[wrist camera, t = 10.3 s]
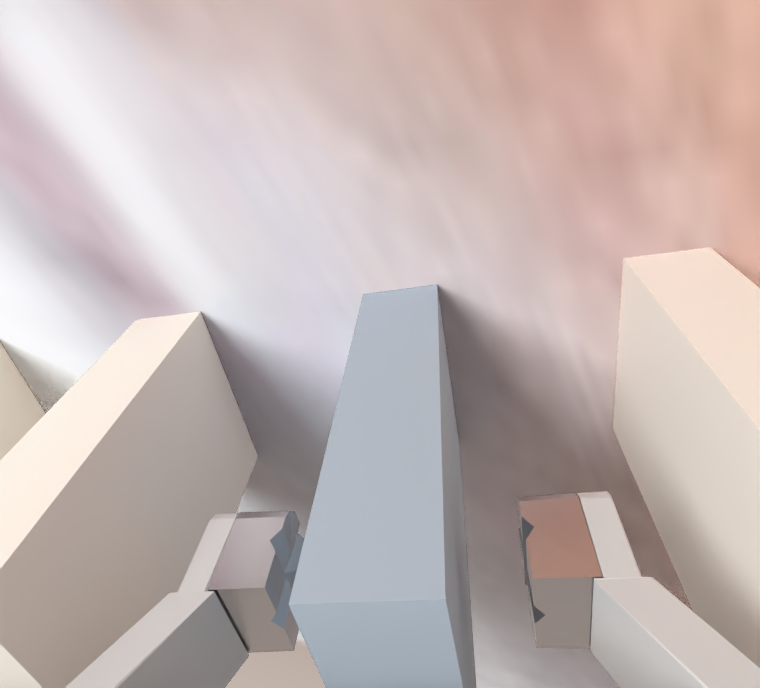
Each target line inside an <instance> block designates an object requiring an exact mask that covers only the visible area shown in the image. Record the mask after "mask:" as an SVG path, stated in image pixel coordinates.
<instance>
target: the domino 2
mask: <svg viewBox="0 0 760 688" xmlns="http://www.w3.org/2000/svg"><path fill="white" fill-rule="evenodd" d="M257 458H258V455H257V452H256V450H255V447H254V445H253V442H252V439H251V437H250V434H249V432H248V429H247V427H246V424H245V422H244V419H243V417H242V414H241V412H240V409H239V407H238V404H237V402H236V399H235V397H234V394H233V392H232V389H231V387H230V384H229V382H228V379H227V377H226V374H225V372H224V369H223V367H222V364H221V362H220V359H219V357H218V354H217V351H216V349H215V346H214V344H213V341H212V339H211V336H210V334H209V331H208V329H207V326H206V324H205V321H204V319H203V316H202V314H201V312H194V313H186V314H178V315H170V316H162V317H154V318H146V319H138V320H136V321H135V322H134V323H133V324H132V325H131V326H130V327H129V328H128V329H127V330H126V331H125V332H124V333H123V334H122V335H121V336H120V337H119V338H118V339H117V341H116V342H115V343H114V344H113V345H112V346H111V347H110V348H109V349H108V350H107V351H106V352H105V353H104V354H103V355H102V356H101V357H100V358H99V359H98V360H97V361H96V362H95V363H94V364H93V365H92V366H91V367H90V368H89V369H88V370H87V372H86V373H85V374H84V375H83V376H82V377H81V378H80V379H79V380H78V381H77V382H76V383H75V384H74V385H73V386H72V387H71V388H70V389H69V390H68V391H67V392H66V393H65V394H64V395H63V396H62V397H61V398H60V399H59V400H58V401H57V403H56V404H55V405H54V406H53V407H52V408H51V409H50V410H49V411H48V412H47V413H46V414H45V415H44V416H43V417H42V418H41V419H40V420H39V421H38V422H37V423H36V424H35V425H34V426H33V427H32V428H31V429H30V430H29V431H28V433H27V434H26V435H25V436H24V437H23V438H22V439H21V440H20V441H19V442H18V443H17V444H16V445H15V446H14V447H13V448H12V449H11V450H10V451H9V452H8V453H7V454H6V455H5V456H4V457H3V458H2V459H1V460H0V688H65V687H66V686H67V685H68V684H69V683H70V682H72V681H73V680H74V679H75V678H76V677H77V676H78V675H79V674H80V673H81V672H83V671H84V670H85V669H86V668H87V667H88V666H89V665H90V664H91V663H93V662H94V661H95V660H96V659H97V658H98V657H99V656H100V655H101V654H103V653H104V652H105V651H106V650H107V649H108V648H109V647H110V646H111V645H113V644H114V643H115V642H116V641H117V640H118V639H119V638H120V637H121V636H122V635H124V634H125V633H126V632H127V631H128V630H129V629H130V628H131V627H132V626H134V625H135V624H136V623H137V622H138V621H139V620H140V619H141V618H142V617H144V616H145V615H146V614H147V613H148V612H149V611H150V610H151V609H152V608H154V607H155V606H156V605H157V604H158V603H159V602H160V601H161V600H162V599H164V598H165V597H166V596H167V595H168V594H169V593H171V592H178V590H179V588H180V586H181V583H182V581H183V579H184V577H185V574H186V572H187V570H188V568H189V565H190V563H191V561H192V559H193V556H194V554H195V552H196V550H197V547H198V545H199V543H200V541H201V538H202V536H203V534H204V532H205V530H206V527H207V525H208V523H209V521H210V520H211V519H212V518H213V517H214V516H215V514H220V513H236V511H237V509H238V506H239V504H240V501H241V498H242V496H243V493H244V491H245V488H246V486H247V483H248V481H249V478H250V476H251V473H252V470H253V468H254V465H255V463H256V460H257Z"/></svg>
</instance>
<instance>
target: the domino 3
mask: <svg viewBox="0 0 760 688" xmlns="http://www.w3.org/2000/svg"><path fill="white" fill-rule="evenodd" d="M289 607H290V609H291V611H292V613H293V616H294V618H295V620H296V622H297V625H298V627H299V629H300V631H301V633H302V636H303V638H304V640H305V642H306V645H307V647H308V649H309V651H310V653H311V656H312V658H313V660H314V662H315V665H316V667H317V669H318V671H319V673H320V675H321V678H322V680H323V682H324V684H325V687H326V688H476V677H475V662H474V648H473V633H472V619H471V604H470V590H469V575H468V561H467V546H466V532H465V517H464V503H463V488H462V474H461V459H460V445H459V437H458V429H457V422H456V415H455V408H454V401H453V394H452V387H451V380H450V372H449V365H448V358H447V351H446V344H445V337H444V330H443V323H442V315H441V308H440V301H439V294H438V287H437V285H430V286H422V287H414V288H407V289H399V290H392V291H384V292H376V293H369V294H363V297H362V301H361V305H360V309H359V314H358V318H357V322H356V326H355V330H354V334H353V339H352V343H351V347H350V351H349V355H348V359H347V363H346V368H345V372H344V376H343V380H342V384H341V388H340V393H339V397H338V401H337V405H336V409H335V413H334V418H333V422H332V426H331V430H330V434H329V438H328V443H327V447H326V451H325V455H324V459H323V463H322V467H321V472H320V476H319V480H318V484H317V488H316V492H315V497H314V501H313V505H312V509H311V513H310V517H309V522H308V526H307V530H306V534H305V538H304V542H303V546H302V551H301V555H300V559H299V563H298V567H297V571H296V576H295V580H294V584H293V588H292V592H291V596H290V601H289Z"/></svg>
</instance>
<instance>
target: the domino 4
mask: <svg viewBox="0 0 760 688" xmlns="http://www.w3.org/2000/svg"><path fill="white" fill-rule="evenodd" d="M613 431H614V433H615V435H616V437H617V440H618V442H619V444H620V447H621V449H622V451H623V453H624V456H625V458H626V460H627V462H628V465H629V467H630V469H631V472H632V474H633V476H634V478H635V481H636V483H637V485H638V487H639V490H640V492H641V494H642V497H643V499H644V501H645V503H646V506H647V508H648V510H649V512H650V515H651V517H652V519H653V522H654V524H655V526H656V528H657V531H658V533H659V535H660V538H661V540H662V542H663V544H664V547H665V549H666V551H667V553H668V556H669V558H670V560H671V563H672V565H673V567H674V569H675V572H676V574H677V576H678V578H679V581H680V583H681V585H682V588H683V590H684V592H685V594H686V597H687V599H688V601H689V603H690V606H691V608H692V610H693V612H694V613H695V614H697V615H698V616H699V617H700V618H701V619H703V620H704V621H705V622H706V623H707V624H708V625H710V626H711V627H712V628H713V629H714V630H716V631H717V632H718V633H719V634H720V635H721V636H723V637H724V638H725V639H726V640H727V641H728V642H730V643H731V644H732V645H733V646H734V647H736V648H737V649H738V650H739V651H740V652H741V653H743V654H744V655H745V656H746V657H747V658H749V659H750V660H751V661H752V662H753V663H754V664H756V665H757V666H758V667H759V668H760V288H759V287H758V286H756V285H755V284H754V283H753V282H752V281H750V280H749V279H748V278H747V277H746V276H744V275H743V274H742V273H741V272H740V271H738V270H737V269H736V268H735V267H734V266H732V265H731V264H730V263H729V262H728V261H726V260H725V259H724V258H723V257H721V256H720V255H719V254H718V253H717V252H715V251H714V250H713V249H712V248H711V247H708V248H700V249H692V250H684V251H676V252H668V253H660V254H653V255H645V256H637V257H629V258H623V270H622V286H621V302H620V319H619V335H618V351H617V367H616V384H615V400H614V416H613Z"/></svg>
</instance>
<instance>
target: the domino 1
mask: <svg viewBox="0 0 760 688" xmlns="http://www.w3.org/2000/svg"><path fill="white" fill-rule="evenodd" d="M45 414H46V413H45V412H44V410H43V409H42V407H41V405H40V404H39V402H38V401H37V399H36V398H35V396H34V394H33V393H32V391H31V390H30V388H29V387H28V385H27V383H26V382H25V380H24V379H23V377H22V376H21V374H20V372H19V371H18V369H17V368H16V366H15V365H14V363H13V361H12V360H11V358H10V357H9V355H8V354H7V352H6V350H5V349H4V347H3V346H2V344H1V342H0V460H1V459H2V458H3V457H4V456H5V455H6V454H7V453H8V452H9V451H10V450H11V449H12V448H13V447H14V446H15V445H16V444H17V443H18V442H19V441H20V440H21V439H22V438H23V437H24V436H25V435H26V434H27V433H28V431H29V430H30V429H31V428H32V427H33V426H34V425H35V424H36V423H37V422H38V421H39V420H40V419H41V418H42V417H43V416H44V415H45Z"/></svg>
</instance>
